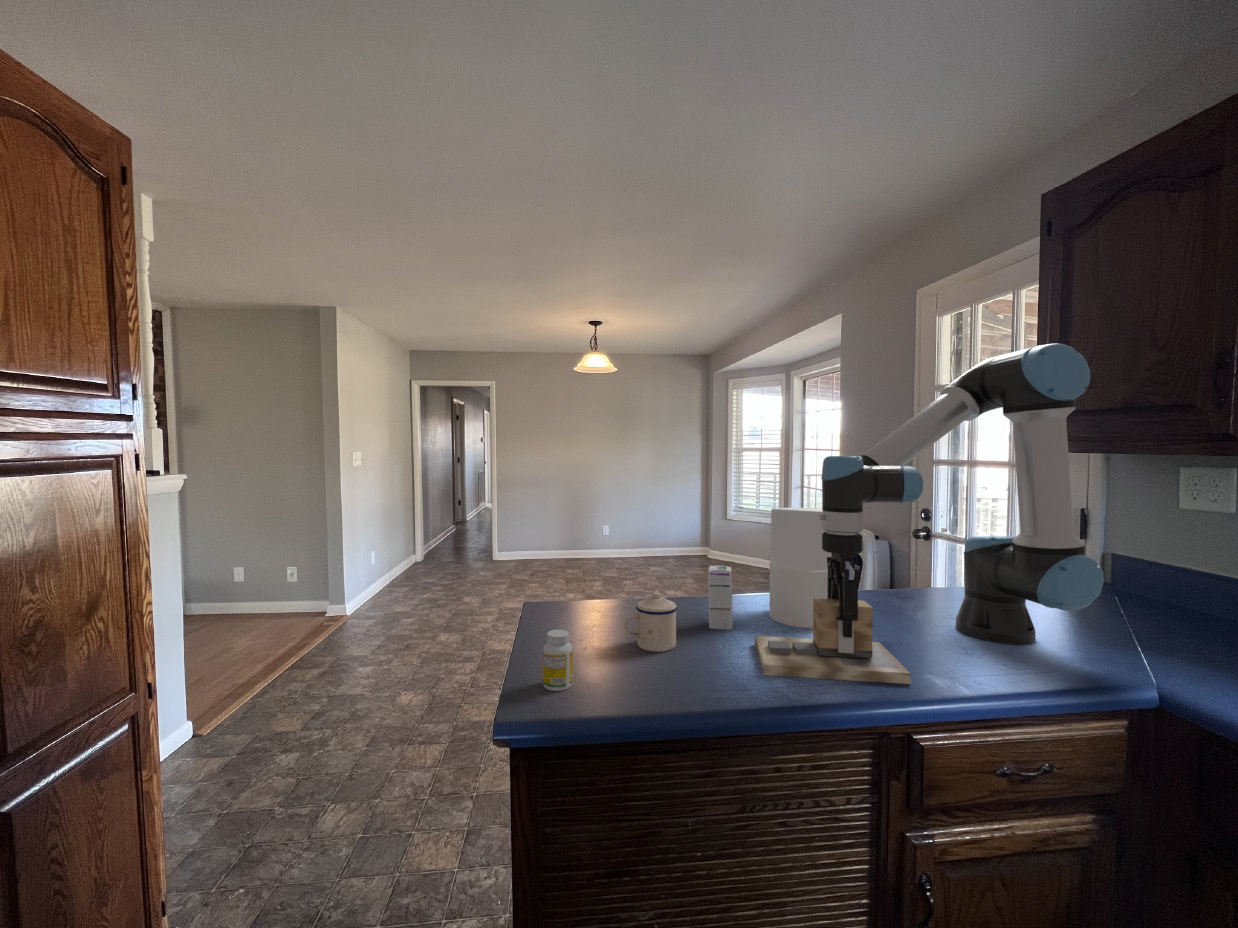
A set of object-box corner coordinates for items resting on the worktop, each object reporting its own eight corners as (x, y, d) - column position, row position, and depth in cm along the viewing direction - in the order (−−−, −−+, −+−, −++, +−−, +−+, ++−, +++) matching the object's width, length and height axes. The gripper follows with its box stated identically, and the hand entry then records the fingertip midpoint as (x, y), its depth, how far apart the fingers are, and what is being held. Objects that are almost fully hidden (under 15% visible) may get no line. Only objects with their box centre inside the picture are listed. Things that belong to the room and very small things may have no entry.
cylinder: (781, 604, 143) (781, 506, 143) (846, 615, 133) (846, 509, 133) (760, 619, 129) (760, 511, 129) (830, 633, 119) (831, 515, 119)
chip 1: (787, 647, 105) (787, 641, 105) (791, 654, 101) (791, 648, 101) (767, 646, 106) (767, 640, 106) (770, 653, 102) (770, 647, 102)
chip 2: (812, 648, 104) (812, 642, 104) (817, 655, 100) (817, 649, 100) (792, 647, 105) (792, 641, 105) (796, 654, 101) (796, 648, 101)
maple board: (879, 651, 108) (879, 641, 108) (910, 683, 92) (910, 672, 92) (754, 644, 112) (754, 635, 112) (764, 674, 96) (764, 664, 96)
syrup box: (732, 630, 121) (732, 570, 121) (707, 628, 123) (707, 569, 122) (732, 622, 127) (732, 565, 127) (708, 621, 128) (708, 564, 128)
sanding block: (863, 648, 103) (864, 600, 103) (872, 658, 98) (872, 607, 98) (813, 645, 105) (813, 598, 105) (818, 655, 100) (819, 604, 100)
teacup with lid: (668, 636, 117) (668, 586, 117) (683, 650, 109) (683, 596, 109) (618, 641, 114) (618, 590, 114) (630, 656, 105) (630, 601, 105)
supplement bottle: (557, 694, 88) (556, 640, 88) (537, 685, 92) (536, 633, 92) (578, 684, 92) (578, 632, 92) (558, 676, 96) (558, 626, 96)
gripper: (812, 525, 111) (811, 630, 111) (834, 538, 93) (834, 663, 93) (848, 526, 110) (847, 632, 110) (877, 539, 92) (877, 666, 92)
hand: (841, 646), depth 101 cm, fingers closed on sanding block, 5 cm apart
